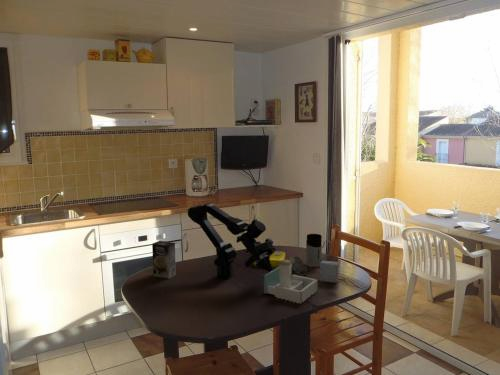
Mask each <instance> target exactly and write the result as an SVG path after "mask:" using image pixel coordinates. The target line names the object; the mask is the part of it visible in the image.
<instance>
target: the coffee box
mask: <svg viewBox="0 0 500 375" xmlns="http://www.w3.org/2000/svg"><path fill="white" fill-rule="evenodd" d="M151 245H152V270H153V271H152V272H153V277H156V278H163V279H171V278H173V277H175V276H176V271H177V270H176V242H174V241H173V242H172V241H163V240H158V241H155V242H153V243H152V244H151Z"/></svg>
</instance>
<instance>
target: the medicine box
mask: <svg viewBox="0 0 500 375" xmlns="http://www.w3.org/2000/svg"><path fill="white" fill-rule="evenodd" d="M339 265H340V264H339V261H330V260H329V261H328V260H322V261H321V263H320V266H319V281H320V282H326V283H335V284H338V281H339Z"/></svg>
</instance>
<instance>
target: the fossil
mask: <svg viewBox="0 0 500 375" xmlns="http://www.w3.org/2000/svg"><path fill="white" fill-rule="evenodd" d="M289 260H290V261H291V276H292V275H298V276H302V277H305V276H306V275H307V273H308V267H307V265H306V264H305V262H304V261H303V260H302V259H300V257H299V256H295V255H294V256H292V257H291V258H289Z"/></svg>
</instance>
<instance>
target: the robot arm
mask: <svg viewBox="0 0 500 375" xmlns="http://www.w3.org/2000/svg"><path fill="white" fill-rule="evenodd" d="M208 214H209V215H210V216H212V217H213V218H214V219H217V221H219V222H220V223H222V224H223V225H225V227H226V229H227V231H229V233H231V234H232V235H234V236H236V244H238V243H240V242H241V243H242V245H243V246H244V248H245V249H246V251H245V252H246V253H248V254H250V255H251V256H250V257H248V259H246V260H245V262H244V266H245V267H246V268H245V269H249V268H251V267H252V265H254V262H256V263H257V264H256V265H255V266H254V267H256V266H258V267H257V268H260V269H262V270H265V271H267V272H268V273H269V272H271V271H272V270H274V268H272V266H271V263H270V256H271V255H272V254H273V253H274V252H275V251H277V249H276V248H275V246H274V241H273V240H272V238H270V237H269V238H266V239H265V240H264V242H261V241H260V240H258V241H257V239H258V238H259V237H260V236H261V235H262V234H263V233H264V232H265V231H266V230H267V228H266V225H265V224H264V223H263V222H262V221H260V220H258V219H257V218H255V219H253V220H252V221H251V223H247V222H246V221H245V220H243V219H240V218H238V217H233V216H231V215H230V214H229V213H226V211H224V210H222V209H221V208H220V207H218V206H216V205H215V204H214V203H213V202H208V203H204V204H203V205H201V204H199V205H194V206H191V207H189V208H188V210H187V216H188V218H189V219H191V221H193V222H194V223H195V224H197V225H199V226H200V228H201V230H202V231H203V232H204V233H205V235H206V236H207V238H208V240H209V241H210V242H211V244H212V245H213V247H214V248H215V252H216V253H215V254H216V256H217V257H216V259H214V260H213V263H214V266H216V275H215V278H217V279H222V280H223V279H224V280H229V279H230V278H231V277H233V276H234V273H233V271H234V269H233V266H232V264H233V263H234V262H235V259H236V258H237V251H236V248H234V246H233V244H232V243H231V242H229V243H227V242H225V241H224V239H222V238H223V237H221V236H220V234H219V233H218V231H217V230H216V229H215V227H214V226H213V225H212V223H211V222H210V220H209V219H208Z"/></svg>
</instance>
